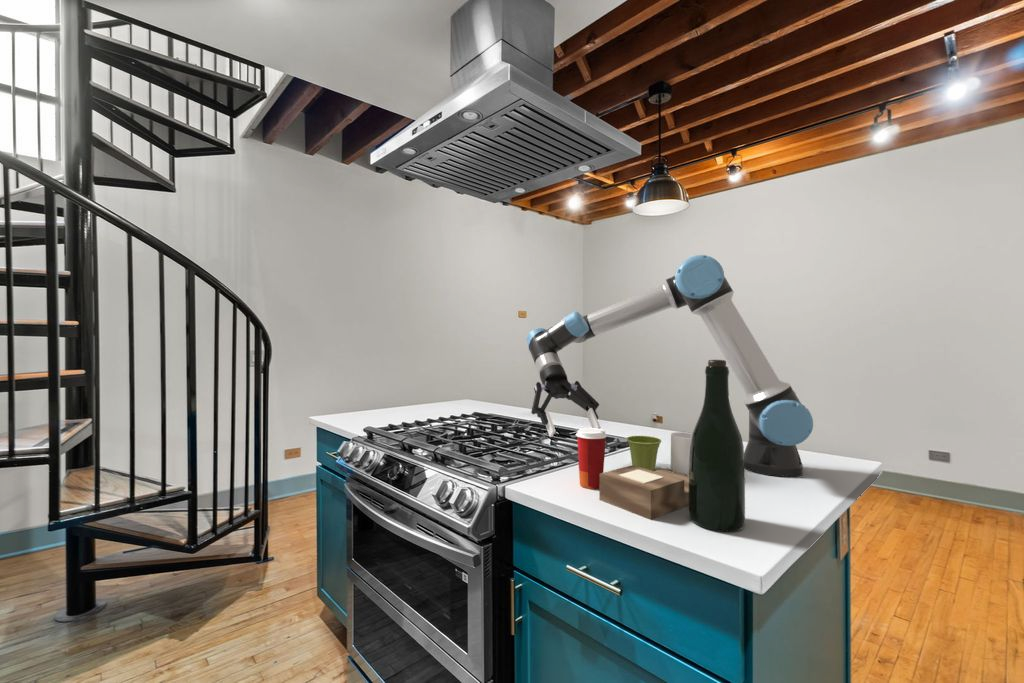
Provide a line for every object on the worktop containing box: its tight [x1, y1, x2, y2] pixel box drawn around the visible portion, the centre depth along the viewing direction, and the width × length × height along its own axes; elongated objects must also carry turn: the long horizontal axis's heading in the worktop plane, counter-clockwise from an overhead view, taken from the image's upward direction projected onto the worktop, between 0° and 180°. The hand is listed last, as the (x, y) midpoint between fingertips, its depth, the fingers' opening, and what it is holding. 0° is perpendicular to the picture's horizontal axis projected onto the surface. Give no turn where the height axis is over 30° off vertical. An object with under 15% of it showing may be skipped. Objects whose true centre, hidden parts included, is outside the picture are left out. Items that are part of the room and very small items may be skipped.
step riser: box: [598, 464, 689, 520], centre depth 104 cm, size 24×14×6 cm, turn 126°
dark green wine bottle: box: [687, 359, 746, 532], centre depth 90 cm, size 10×10×33 cm
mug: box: [670, 431, 693, 476], centre depth 123 cm, size 12×8×10 cm
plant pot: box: [626, 435, 662, 471], centre depth 126 cm, size 9×9×9 cm
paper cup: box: [575, 427, 608, 490], centre depth 112 cm, size 8×8×14 cm
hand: (575, 432), depth 118 cm, fingers open, 13 cm apart
